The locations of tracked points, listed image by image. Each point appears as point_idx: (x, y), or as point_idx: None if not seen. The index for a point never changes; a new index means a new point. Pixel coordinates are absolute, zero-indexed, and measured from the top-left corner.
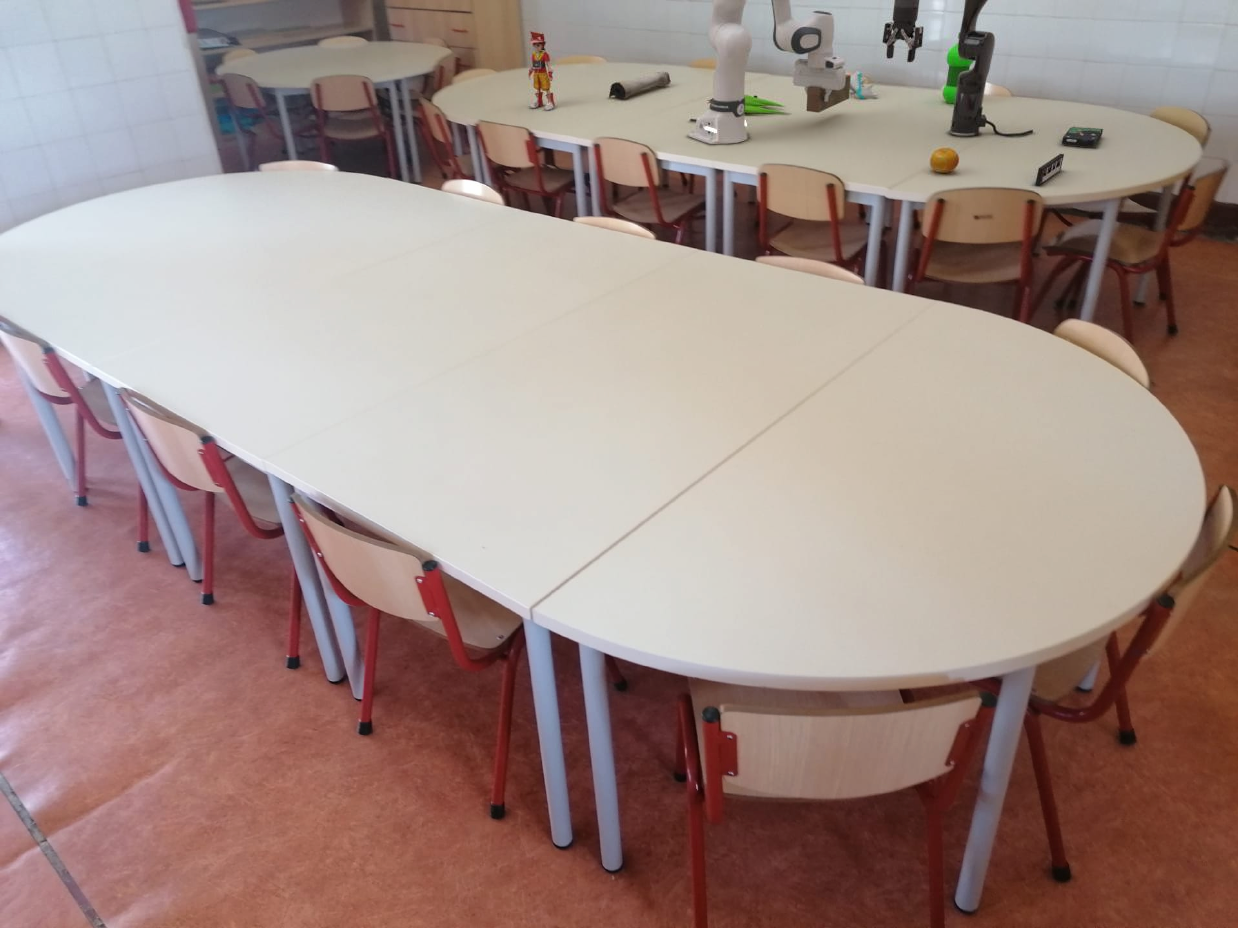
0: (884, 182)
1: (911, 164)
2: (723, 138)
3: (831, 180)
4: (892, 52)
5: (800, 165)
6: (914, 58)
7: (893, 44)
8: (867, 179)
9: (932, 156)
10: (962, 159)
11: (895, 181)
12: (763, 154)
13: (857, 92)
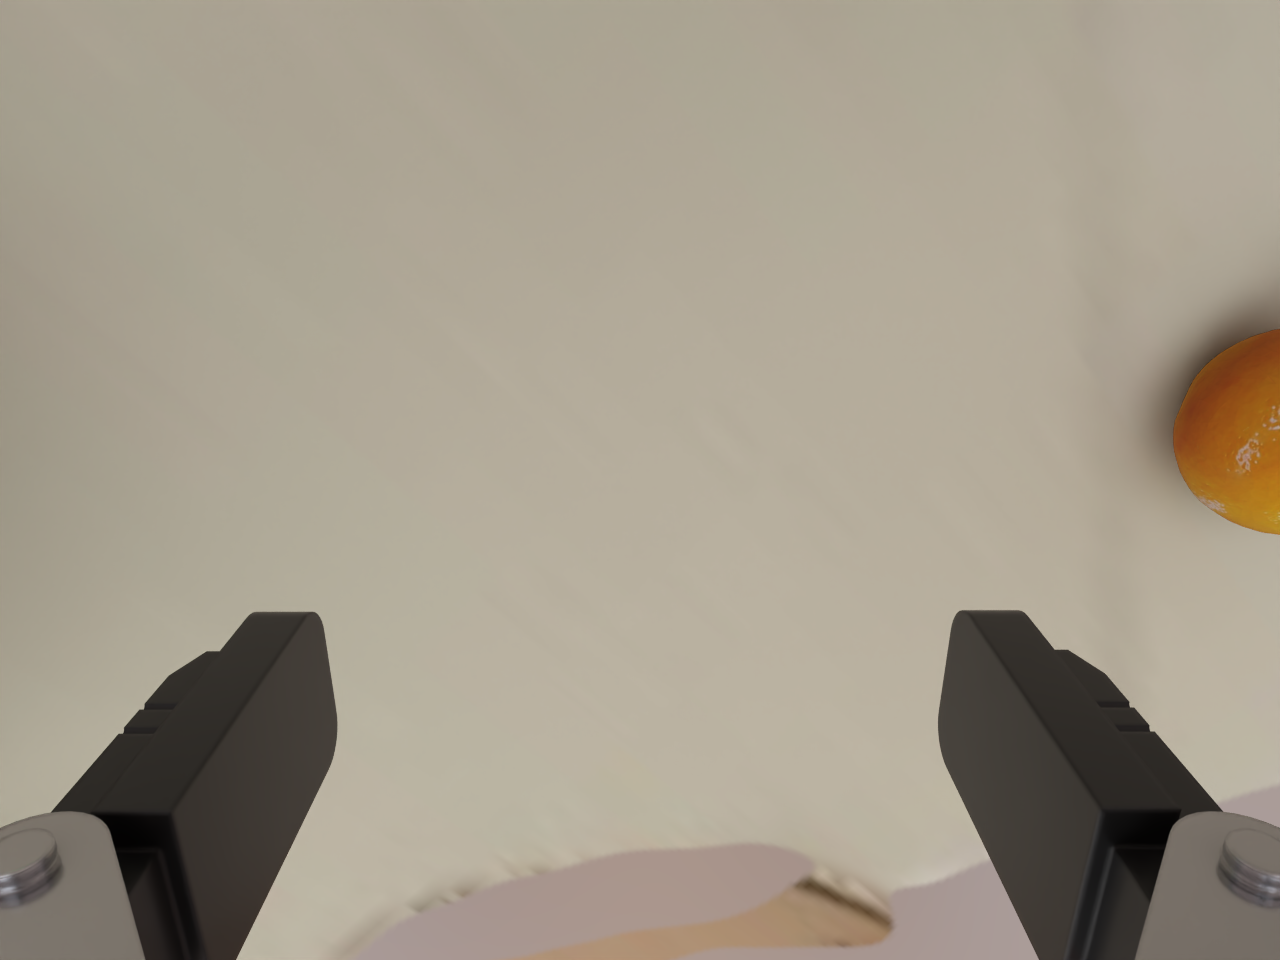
0: None
1: (969, 421)
2: None
3: (802, 920)
4: (263, 719)
5: (484, 870)
6: (1102, 680)
7: (100, 852)
8: (939, 799)
9: (1244, 521)
10: (1215, 34)
11: None
12: None
13: None
